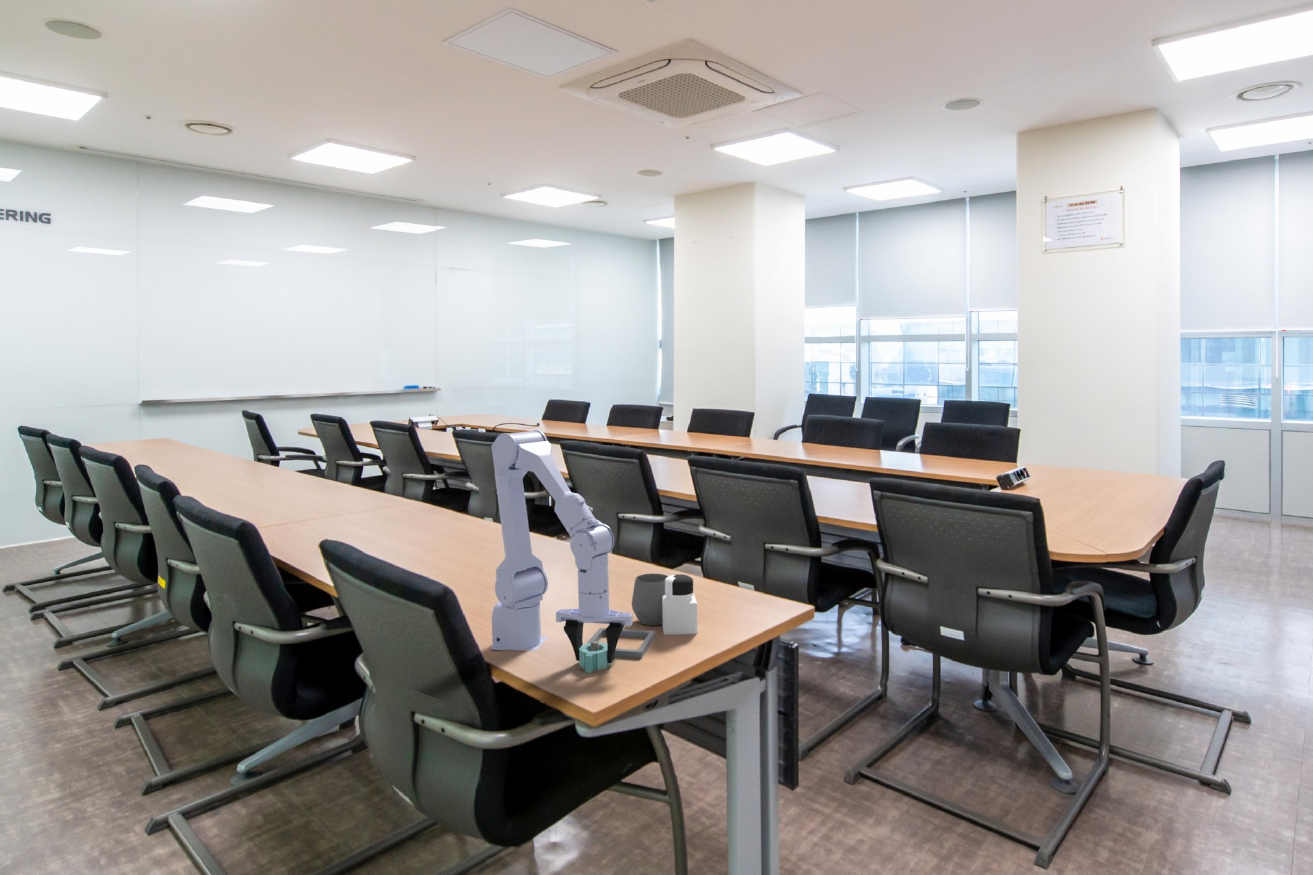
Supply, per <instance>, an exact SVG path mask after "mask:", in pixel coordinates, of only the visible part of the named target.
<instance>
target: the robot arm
mask: <svg viewBox="0 0 1313 875" xmlns="http://www.w3.org/2000/svg"><path fill="white" fill-rule="evenodd" d="M552 447H553V446H552V444H551V442H549V441H548V438H547V436H546V435H545V433H544V432H542V431H541V430H539V429H538V430H537V429H533V430H530V431H529V430H528V431H522V432H519V431H518V432H511V433H508V432H504V433H501V434H499V435H498V436H497V437H496V438H495V440H494V442H493V443H492V445H491V452H492V453H491V454H492V459H493V468H494V478H495V488H496V495H497V503H498V512H499V517H500V518H499V519H500V526H501V532H502V540H503V541H502V542H503V548H504V559H503V560H502V561H501V563H500V564H499V565H498V566H497V568H496V569H495V575H496V576H495V577H496V578H495V579H496V580H495V585H494V592H495V597H496V598H497V600H498V602H496V603H495V605H494V606H493V609H492V613H491V637H492V638H491V639H492V641H491V642H492V645H491V647H490V649H491V650H492V651H506V650H512V651H513V650H514V651H515V650H517V651H530V652H531V651H532V652H535V651H536V650H537V649H539V647H540V646H542V645H543V643H544V642H546V640H547V639H549V637H548V636H544V637H543V636H542V627H541V626H542V625H541V601H543V599H544V598H543V597H544V596H543V595H545V594H546V592H547V590H548V588H549V582H548V576H547V574H546V572H545V570H544V566H543V560H542V559H540V558H538V556H536V555H534V553H533V551H532V550H533V549H532V542H531V535H530V534H531V533H530V528H529V519H528V510H527V504H526V494H525V488H524V481H523V480H524V477H525V475H526V474H527V473H528V472H532V473H534V474H535V476H536V477H537V479H538V480H539V481H540V482H541V484H542V485H543V486H544V488H545V490H546V491H547V492H548V493H549V495H550V496H551V497H552V499H553V500H554V501H555V503H554V504H555V505H554V513H555V514H556V515H557V518H558V519H559V520H560V522H561V524H562V525H563V526H564V528H565V530H566V532H567V533H568V535H569V536H570V538H571V539H572V540H571V542H570V543H569V545H570V550H571V553H572V555H573V556H574V560H575V562H574V563H575V565H576V568H577V584H578V585H577V588H578V589H577V590H578V593H577V595H578V596H577V597H578V608H569V609H568V608H559V609H558V610H557V611H555V621H556V623H563V622H565V623H564V625H563V631H564V633H565V635H566V636H567V638H568V639H569V641H570V644H571V646H572V649H573V652H574V655H575V656H574V657H575V661H576V662H579V648H580V647H581V646H582V645H584V643H583V642H584V641H583V633H584V624H602V625H604V624H605V625H608V626H607V627H605V628H606V629H605V632H606V638H605V639H606V644H607V648H608V649H607V661H608V663H612V662H613V660H614V658H615V657H614V656H615V650H616V649H617V645H618V641H619V640H620V634H621V632H622V629H624V628H625V627H631V626H632V625H633V623H634V621H633V620H634V619H633V618H634V617H633V616H634V615H633V613H632V612H624V611H619V610H613V609H610V590H609V589H610V586H609V578H610V577H609V553H611V552H612V550H614V546H615V537H614V534H613V531H612V529H611V527H610V526H609V525H607V524H605V523H603V522H602V521H600V520H598V519H597V518H596V517H595V516H594V514H593V512H592V511H591V510H590V508H589V507H588V505H587V503H586V500H585V498H584V497H583V496H582V495H581V494H579V493H575V492H572V491H571V489H570V487H569V486H568V484H567V482H566V480H565V479H564V476H563V475H562V473H561V471H560V469H559V467H558V466H557V464H556V462H555V460H554V458H553V456H552Z"/></svg>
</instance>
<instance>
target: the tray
mask: <svg viewBox="0 0 1313 875" xmlns="http://www.w3.org/2000/svg"><path fill="white" fill-rule="evenodd" d="M606 628H607V627H599V628H598V629H597V631H596V632H595V633H594V634H593V635H592V636H591V637H590V639H589V640H588V641H587V642H586V643H585V644H588V643H591V642H593V641H598V642H599V641H600V640H601V639H602V637H603V636H604V637H605V636H606V632H605V629H606ZM620 637H622V638H636V639H638V638H639V639H644V640H643V642H642V643H641V645H640V646H639V648H638V649H628V648H627V649H626V648H616V650H615V656H614V658H616V657H617V658H626V659H627V658H628V659H629V658H630V659H631V658H632V659H643V657H644V656H645V654H646V653H647V651H648V649H649V648H650V647H651V644H652V643H653V641H654V640H655V638H656V631H655V630H642V629H641V630H640V629H627V628H625V629H624V628H623V629H622V632H621V634H620ZM620 637H619V638H620Z"/></svg>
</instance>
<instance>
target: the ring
mask: <svg viewBox="0 0 1313 875" xmlns="http://www.w3.org/2000/svg"><path fill="white" fill-rule="evenodd" d="M607 649H608V648H607V642H606V643H605V642H599V650H598V651H591V643H588V644H586V643H583V645H582V646H581V647H580V648H579V661H578V662H579V665H580V666H581V667H582V668H583V669H585V671H584V672H585V674H586V673H588V674H592V673H594V672H593V671H594V670H600V669H604V668H607V667H609V665H610V664H611V663H608V661H607Z"/></svg>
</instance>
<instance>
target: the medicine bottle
mask: <svg viewBox="0 0 1313 875" xmlns="http://www.w3.org/2000/svg"><path fill="white" fill-rule="evenodd" d="M661 625H662V632H663V635H664V636H667V635H668V636H669V635H697V634H698V602H697V599H696V595H695V594H694V579H693V577H691V576H690V575H686V574H672V575H669V577H667V578H666V579H665V595H663V596H662V624H661Z"/></svg>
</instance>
